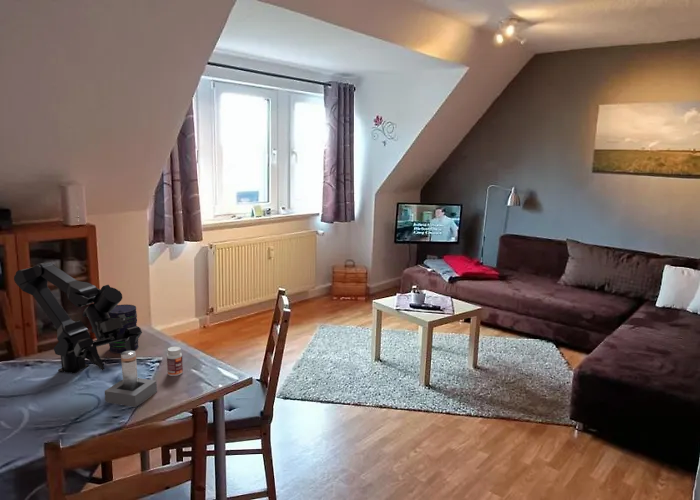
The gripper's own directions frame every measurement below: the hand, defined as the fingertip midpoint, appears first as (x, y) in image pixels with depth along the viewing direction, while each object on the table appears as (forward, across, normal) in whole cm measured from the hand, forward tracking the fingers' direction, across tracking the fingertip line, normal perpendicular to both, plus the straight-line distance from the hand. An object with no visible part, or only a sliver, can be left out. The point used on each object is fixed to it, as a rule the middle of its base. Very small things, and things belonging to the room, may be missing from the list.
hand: (119, 365), depth 158 cm
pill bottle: (+6, +18, +5) cm, 19 cm away
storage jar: (-16, +16, +28) cm, 35 cm away
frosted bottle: (+10, 0, 0) cm, 10 cm away
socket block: (+10, 0, +1) cm, 10 cm away
